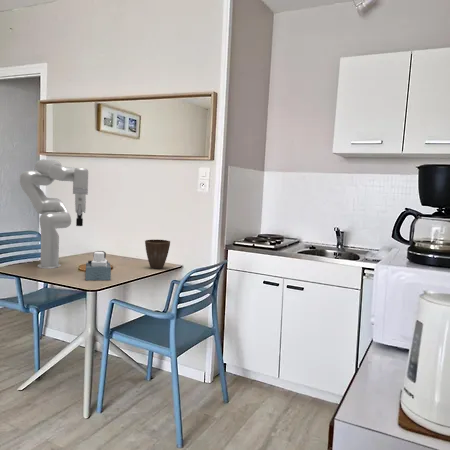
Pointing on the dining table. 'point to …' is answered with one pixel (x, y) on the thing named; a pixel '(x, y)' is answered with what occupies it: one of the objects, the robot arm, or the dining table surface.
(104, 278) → the base
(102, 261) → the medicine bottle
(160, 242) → the plant pot
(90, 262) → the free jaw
